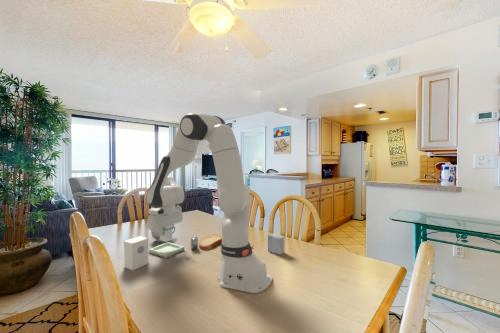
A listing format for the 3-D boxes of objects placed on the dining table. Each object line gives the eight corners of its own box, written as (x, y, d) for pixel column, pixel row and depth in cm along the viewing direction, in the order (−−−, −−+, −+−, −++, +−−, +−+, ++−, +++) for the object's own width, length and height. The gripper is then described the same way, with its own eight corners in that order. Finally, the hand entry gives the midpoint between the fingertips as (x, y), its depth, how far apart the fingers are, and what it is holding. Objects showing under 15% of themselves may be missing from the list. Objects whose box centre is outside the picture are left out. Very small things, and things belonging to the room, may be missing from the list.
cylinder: (199, 248, 128) (199, 237, 128) (194, 250, 125) (194, 239, 125) (194, 247, 130) (194, 236, 130) (189, 249, 127) (189, 238, 126)
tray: (184, 250, 126) (184, 246, 126) (166, 258, 115) (166, 254, 115) (167, 245, 132) (167, 242, 132) (149, 252, 122) (149, 249, 122)
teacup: (156, 245, 132) (156, 231, 131) (147, 240, 140) (147, 227, 140) (180, 239, 143) (180, 226, 142) (170, 234, 151) (170, 222, 151)
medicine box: (284, 252, 122) (284, 236, 122) (279, 255, 119) (279, 238, 118) (272, 249, 127) (272, 233, 127) (267, 251, 124) (267, 235, 124)
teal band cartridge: (172, 239, 124) (172, 224, 124) (166, 241, 120) (166, 226, 120) (166, 237, 127) (166, 223, 126) (159, 240, 123) (159, 225, 123)
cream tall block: (149, 263, 109) (148, 238, 109) (133, 270, 103) (132, 243, 102) (140, 260, 113) (139, 235, 113) (123, 266, 106) (123, 240, 106)
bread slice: (201, 252, 124) (201, 245, 124) (195, 241, 141) (195, 234, 141) (233, 246, 131) (233, 240, 131) (223, 237, 148) (223, 231, 148)
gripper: (177, 204, 133) (177, 228, 134) (145, 210, 116) (145, 238, 116) (185, 205, 130) (185, 229, 131) (153, 212, 113) (153, 240, 113)
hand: (166, 234), depth 123 cm, fingers closed on teal band cartridge, 4 cm apart
